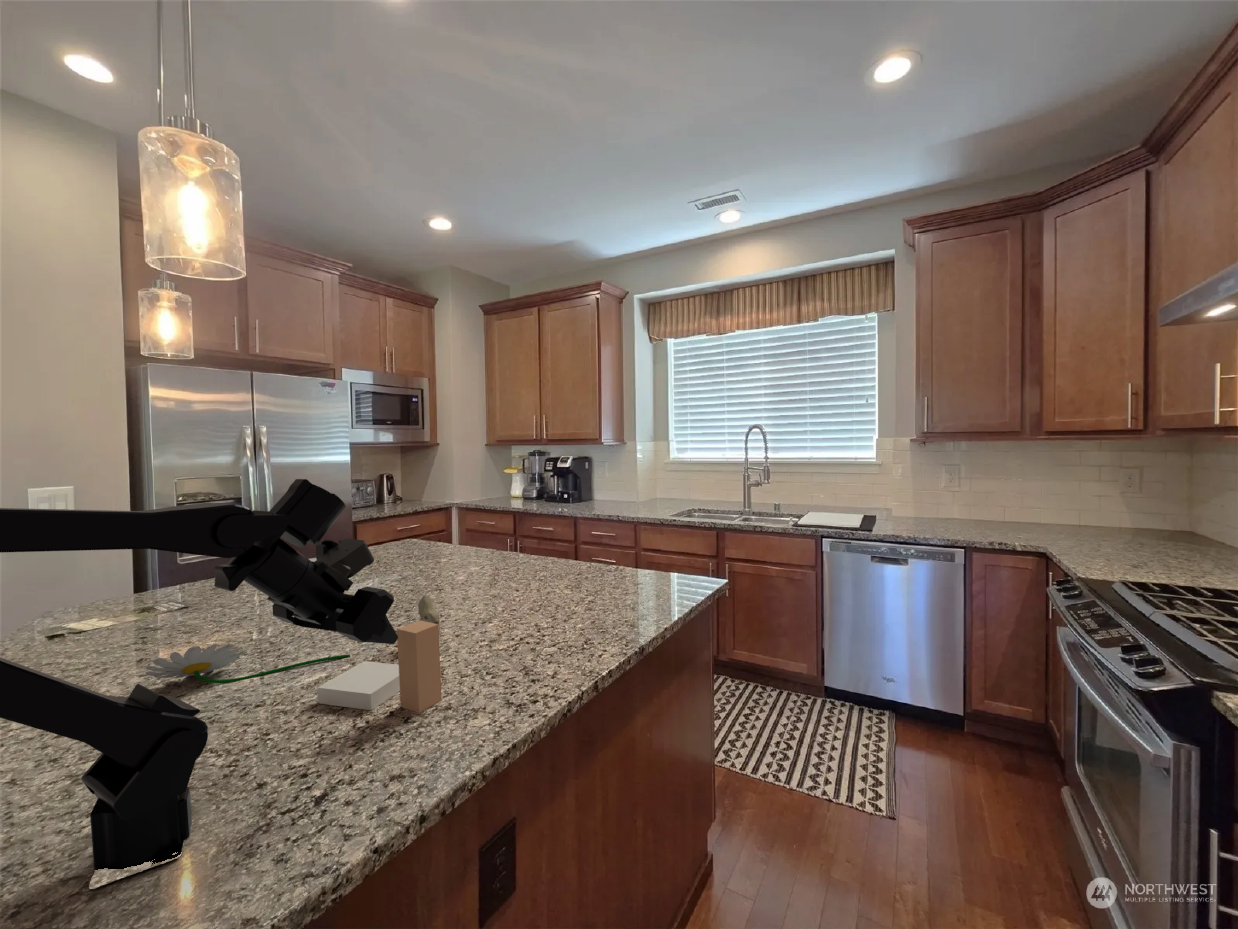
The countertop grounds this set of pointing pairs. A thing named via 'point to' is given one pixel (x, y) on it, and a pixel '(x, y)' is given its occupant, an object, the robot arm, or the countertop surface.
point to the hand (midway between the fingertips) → (374, 635)
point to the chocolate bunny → (428, 610)
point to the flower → (210, 663)
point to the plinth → (361, 686)
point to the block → (419, 665)
